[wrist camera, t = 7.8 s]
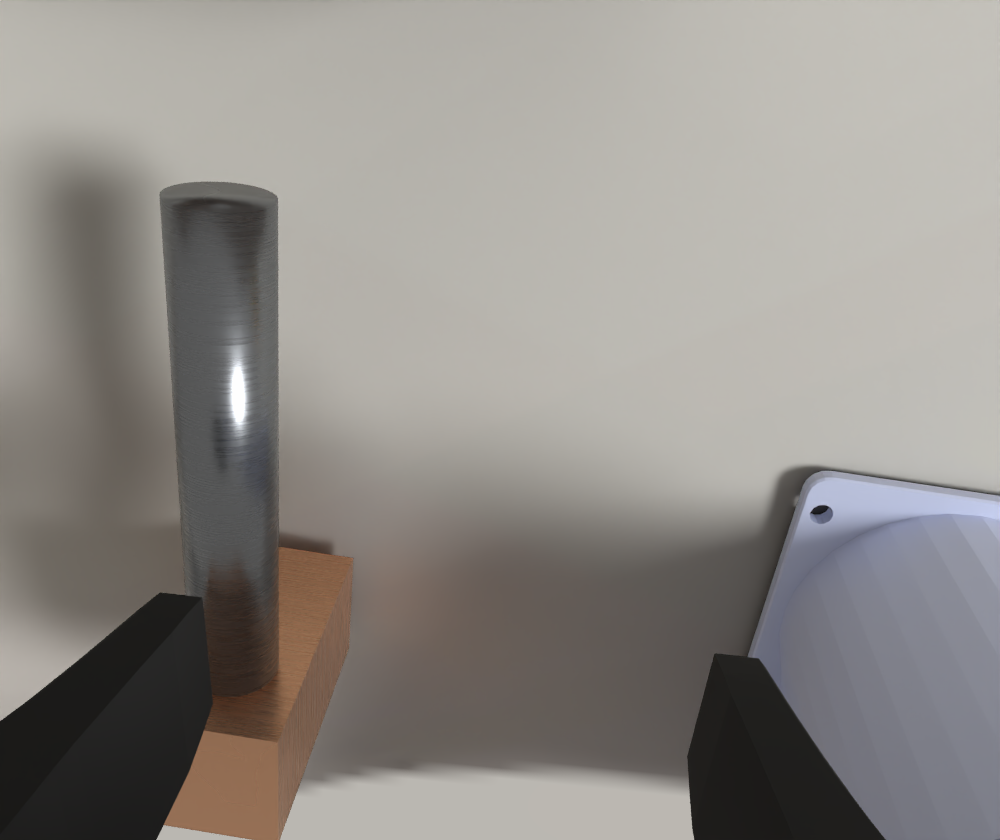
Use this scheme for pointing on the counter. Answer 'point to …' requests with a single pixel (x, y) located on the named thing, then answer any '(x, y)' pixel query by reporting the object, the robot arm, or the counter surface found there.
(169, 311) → the hook pin
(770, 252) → the counter surface
